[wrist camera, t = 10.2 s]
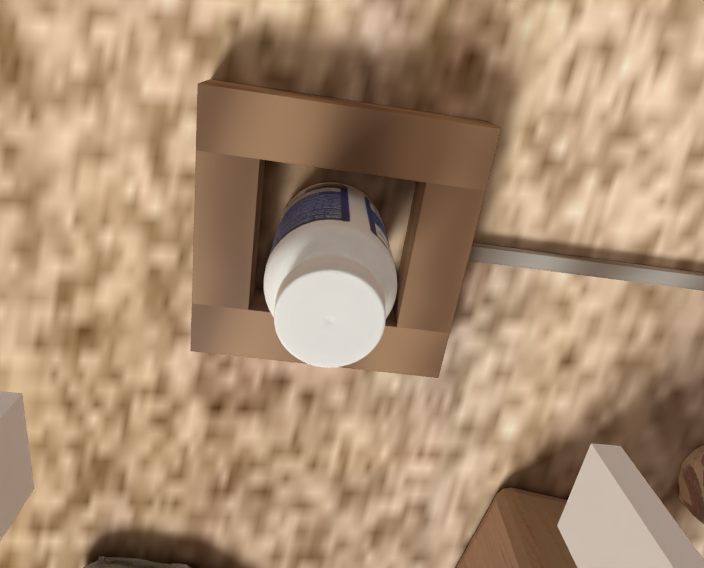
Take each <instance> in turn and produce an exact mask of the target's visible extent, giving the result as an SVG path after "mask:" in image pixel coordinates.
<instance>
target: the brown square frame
mask: <svg viewBox="0 0 704 568" xmlns="http://www.w3.org/2000/svg"><path fill="white" fill-rule="evenodd" d="M500 132H501V129H500V128H498V127H496V126H495V125H493V124H491V123H489V122H487V121H483V120H476V119H469V118H463V117H456V116H450V115H443V114H436V113H430V112H423V111H416V110H410V109H403V108H397V107H390V106H383V105H377V104H370V103H363V102H357V101H350V100H344V99H337V98H330V97H324V96H317V95H310V94H304V93H297V92H291V91H284V90H277V89H271V88H264V87H257V86H251V85H244V84H238V83H231V82H224V81H218V80H211V79H210V80H207V81H204V82H201V83H198V94H197V132H196V169H195V207H194V244H193V282H192V319H191V351H195V352H204V353H213V354H223V355H232V356H241V357H250V358H260V359H269V360H278V361H287V362H297V363H305V362H303V361H301V360H299V359H298V358H296V357H295V356H293V355H292V354H291V353H290V352H289V351H288V350H287V349H286V348H285V347H284V346H283V345H282V343H281V341H280V340H279V338H278V335H277V333H276V330H275V325H274V317H273V316H272V314H271V312H270V310H269V308H268V305H267V303H266V300H265V295H264V290H263V289H255V283H256V271H257V258H258V245H259V233H260V220H261V208H262V195H263V183H264V170H265V160H269V161H276V162H283V163H291V164H298V165H305V166H312V167H319V168H326V169H333V170H341V171H348V172H355V173H362V174H369V175H376V176H384V177H391V178H398V179H405V180H412V181H417V182H416V187H415V192H414V197H413V202H412V207H411V212H410V217H409V222H408V227H407V232H406V237H405V242H404V247H403V252H402V257H401V263H400V268H399V273H398V278H397V294H396V299H395V302H394V305H393V307H392V309H391V311H390V313H389V315H388V317H387V318H386V322H385V329H384V332H383V335H382V337H381V339H380V341H379V342H378V344H377V345H376V347H375V348H374V349H373V350H372V351H371V352H370V353H369V354H368V355H366V356H365V357H363V358H362V359H360V360H358V361H356V362H354V363H352V364H349V365H345V366H340V367H343V368H352V369H361V370H370V371H380V372H389V373H398V374H407V375H417V376H426V377H435V378H438V377H439V373H440V369H441V365H442V361H443V357H444V353H445V349H446V345H447V341H448V338H449V334H450V330H451V326H452V322H453V318H454V314H455V310H456V306H457V302H458V298H459V294H460V290H461V286H462V282H463V278H464V274H465V270H466V266H467V262H468V261H475V262H483V263H491V264H499V265H507V266H515V267H522V268H530V269H538V270H546V271H554V272H562V273H569V274H577V275H585V276H593V277H601V278H608V279H616V280H624V281H632V282H640V283H648V284H655V285H663V286H671V287H679V288H687V289H695V290H702V291H704V273H701V272H693V271H685V270H678V269H670V268H662V267H655V266H647V265H640V264H632V263H624V262H617V261H609V260H601V259H594V258H586V257H578V256H571V255H563V254H555V253H548V252H540V251H533V250H525V249H517V248H510V247H502V246H494V245H487V244H479V243H473V239H474V235H475V231H476V227H477V223H478V219H479V215H480V211H481V207H482V203H483V199H484V195H485V191H486V187H487V183H488V179H489V175H490V171H491V167H492V163H493V160H494V156H495V152H496V148H497V144H498V140H499V136H500ZM306 364H308V363H306Z"/></svg>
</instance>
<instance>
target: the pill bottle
mask: <svg viewBox="0 0 704 568" xmlns="http://www.w3.org/2000/svg"><path fill="white" fill-rule="evenodd" d="M396 294H397V274H396V267H395V264H394V261H393V257H392V253H391V249H390V246H389V243H388V239H387V235H386V231H385V228H384V224H383V221H382V218H381V216H380V213H379V211H378V209H377V208H376V206H375V204H374V203H373V202H372V201H371V199H370V198H369V197H368V196H367V195H366V194H364V193H363V192H361V191H360V190H358V189H356V188H354V187H352V186H350V185H346V184H342V183H338V182H324V183H318V184H314V185H312V186H309V187H307V188H305V189H303V190H302V191H300V192H299V193H298V194H297V195H296V196H294V197H293V198H292V199H291V201H290V202H289V203H288V204H287V206H286V208H285V209H284V211H283V213H282V216H281V218H280V221H279V224H278V228H277V231H276V235H275V238H274V242H273V245H272V249H271V252H270V255H269V258H268V261H267V264H266V269H265V274H264V295H265V300H266V303H267V305H268V308H269V310H270V312H271V314H272V316H273V317H274V325H275V330H276V333H277V335H278V338H279V340H280V341H281V343H282V345H283V346H284V347H285V348H286V349H287V350H288V351H289V352H290V353H291V354H292V355H293V356H295V357H296V358H298V359H299V360H301V361H303V362H305V363H308V364H310V365H314V366H318V367H332V368H333V367H340V366H345V365H349V364H352V363H354V362H356V361H358V360H360V359H362V358H363V357H365V356H366V355H368V354H369V353H370V352H371V351H372V350H373V349H374V348H375V347H376V345H377V344H378V342H379V341H380V339H381V337H382V335H383V332H384V329H385V322H386V318H387V317H388V315H389V313H390V311H391V309H392V307H393V305H394V302H395V299H396Z"/></svg>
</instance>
